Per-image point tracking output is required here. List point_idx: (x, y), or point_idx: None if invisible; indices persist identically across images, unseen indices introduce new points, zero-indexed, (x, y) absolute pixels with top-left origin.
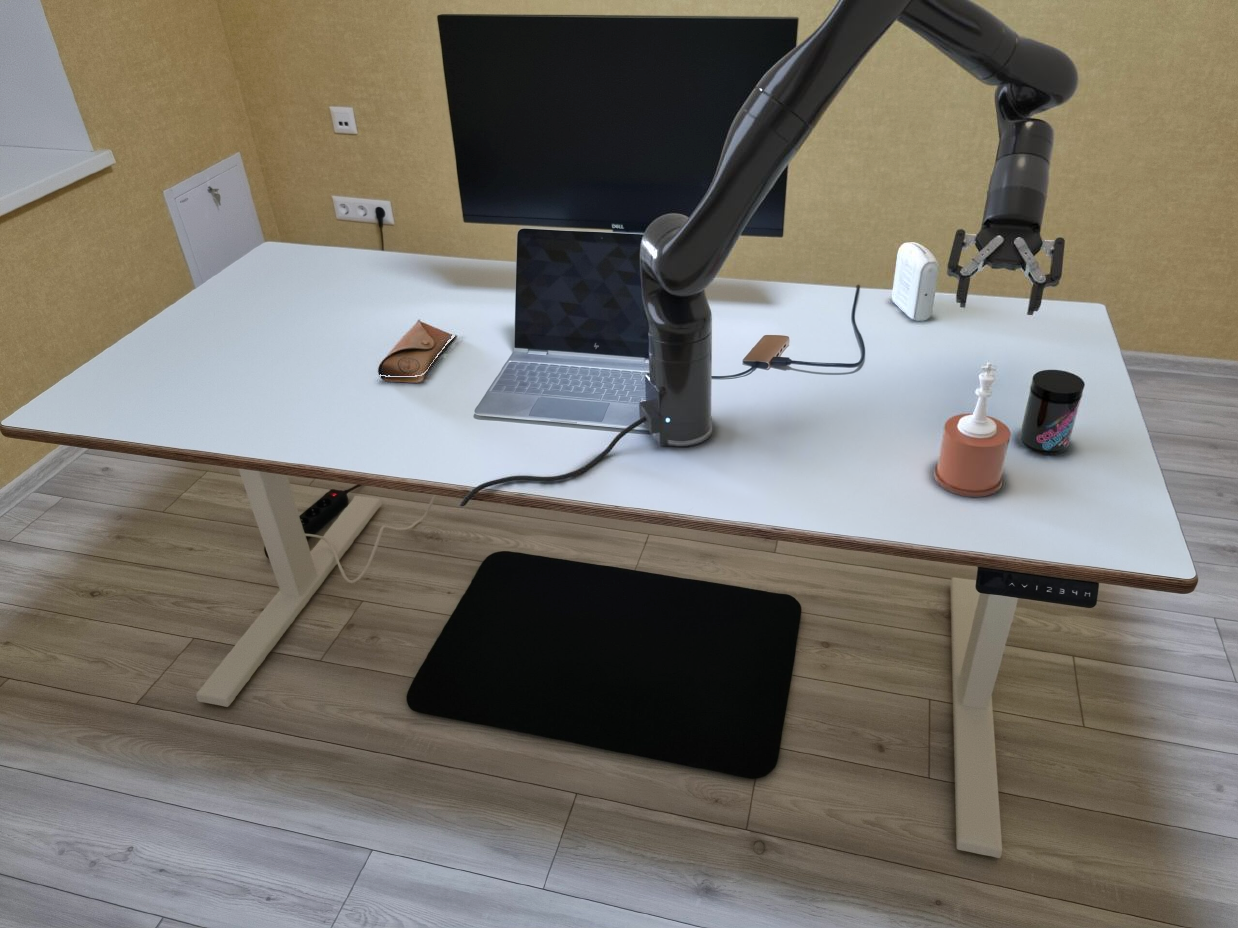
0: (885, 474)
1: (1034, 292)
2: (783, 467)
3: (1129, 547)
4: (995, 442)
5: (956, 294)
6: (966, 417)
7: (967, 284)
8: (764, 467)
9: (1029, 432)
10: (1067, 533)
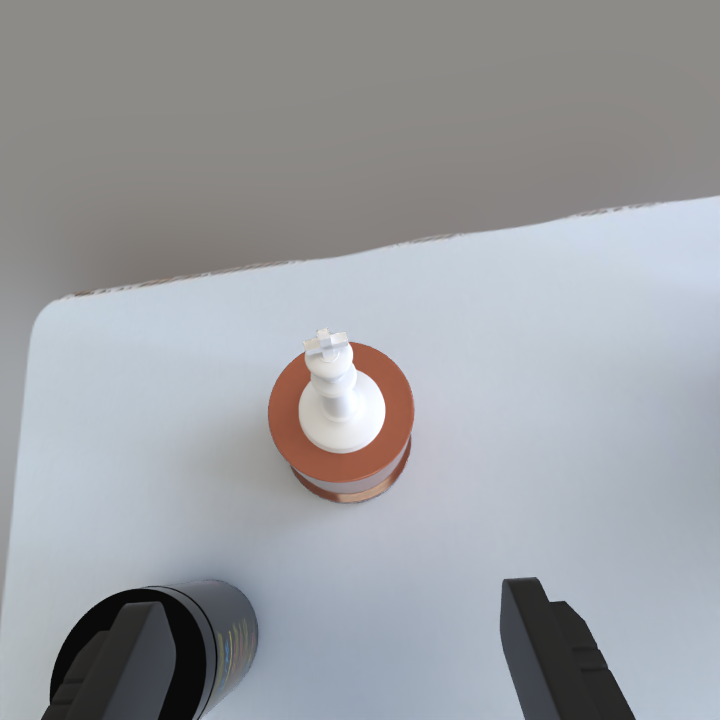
0: (490, 397)
1: (87, 708)
2: (667, 353)
3: (96, 343)
4: (297, 369)
5: (587, 629)
6: (369, 417)
7: (561, 688)
8: (697, 341)
9: (233, 597)
10: (183, 344)
